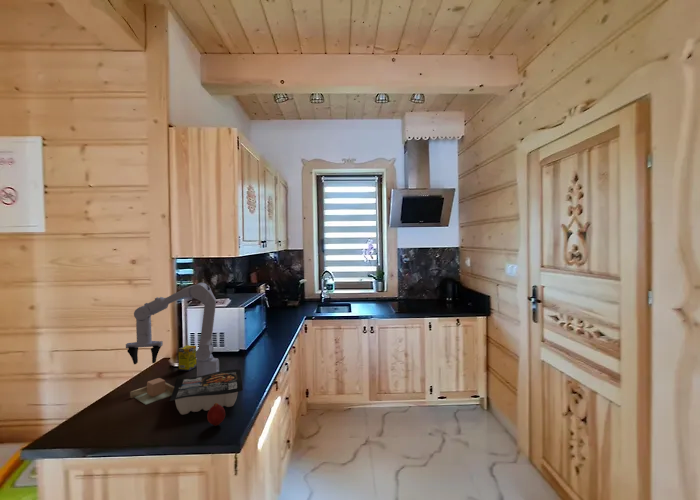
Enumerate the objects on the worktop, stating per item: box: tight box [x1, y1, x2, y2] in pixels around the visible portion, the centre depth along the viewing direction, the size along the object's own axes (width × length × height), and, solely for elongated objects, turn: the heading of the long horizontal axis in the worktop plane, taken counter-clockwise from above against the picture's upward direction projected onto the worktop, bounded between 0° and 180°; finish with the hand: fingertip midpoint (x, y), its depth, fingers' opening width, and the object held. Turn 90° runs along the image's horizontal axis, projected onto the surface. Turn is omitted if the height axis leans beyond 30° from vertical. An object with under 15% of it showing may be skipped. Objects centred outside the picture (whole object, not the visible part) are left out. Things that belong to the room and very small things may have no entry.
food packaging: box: [168, 369, 244, 415], centre depth 136 cm, size 25×8×23 cm
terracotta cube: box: [146, 377, 166, 397], centre depth 143 cm, size 5×5×5 cm
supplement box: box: [177, 344, 197, 372], centre depth 170 cm, size 6×6×11 cm
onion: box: [206, 403, 226, 427], centre depth 117 cm, size 6×6×8 cm
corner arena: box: [129, 381, 175, 406], centre depth 141 cm, size 13×13×2 cm
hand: (144, 363), depth 153 cm, fingers open, 7 cm apart
